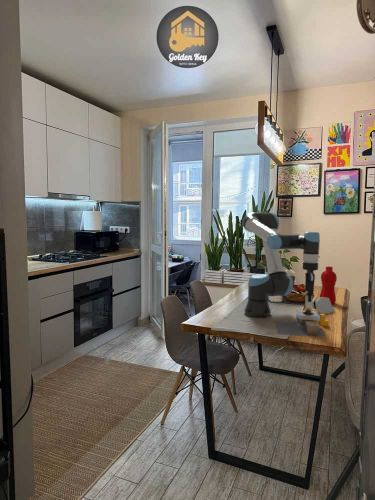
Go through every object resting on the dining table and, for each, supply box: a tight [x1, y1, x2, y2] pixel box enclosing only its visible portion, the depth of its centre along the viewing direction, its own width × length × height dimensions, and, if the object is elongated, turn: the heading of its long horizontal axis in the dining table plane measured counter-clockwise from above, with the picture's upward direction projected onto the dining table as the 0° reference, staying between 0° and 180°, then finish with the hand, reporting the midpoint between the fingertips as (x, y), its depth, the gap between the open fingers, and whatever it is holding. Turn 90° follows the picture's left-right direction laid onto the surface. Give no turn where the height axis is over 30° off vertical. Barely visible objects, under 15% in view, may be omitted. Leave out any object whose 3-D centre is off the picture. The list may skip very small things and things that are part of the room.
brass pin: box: [304, 290, 312, 315], centre depth 179 cm, size 4×4×12 cm
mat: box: [274, 320, 327, 338], centre depth 177 cm, size 22×23×1 cm
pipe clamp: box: [311, 308, 330, 327], centre depth 188 cm, size 12×4×6 cm, turn 4°
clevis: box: [295, 309, 321, 336], centre depth 176 cm, size 10×20×7 cm, turn 170°
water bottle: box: [319, 266, 338, 305], centre depth 236 cm, size 9×11×25 cm
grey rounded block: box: [312, 297, 336, 315], centre depth 212 cm, size 17×5×10 cm, turn 130°
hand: (308, 306), depth 179 cm, fingers closed on brass pin, 2 cm apart
